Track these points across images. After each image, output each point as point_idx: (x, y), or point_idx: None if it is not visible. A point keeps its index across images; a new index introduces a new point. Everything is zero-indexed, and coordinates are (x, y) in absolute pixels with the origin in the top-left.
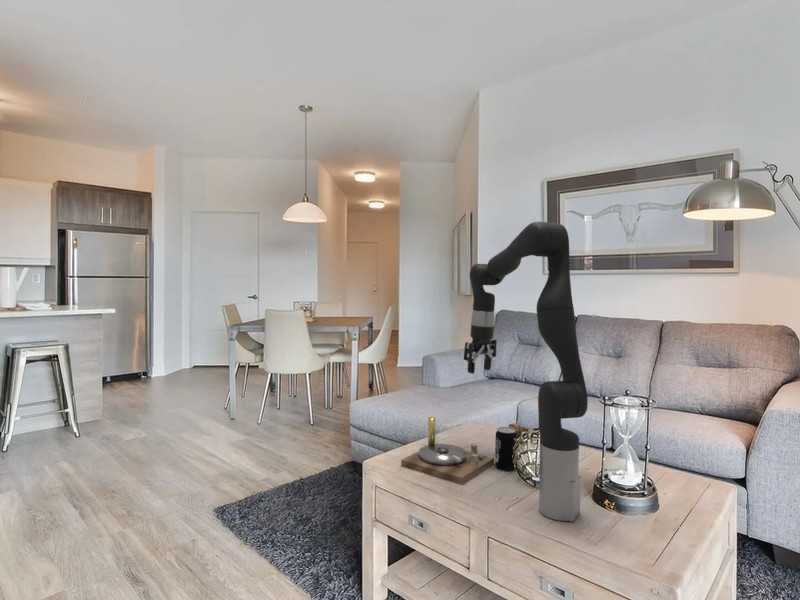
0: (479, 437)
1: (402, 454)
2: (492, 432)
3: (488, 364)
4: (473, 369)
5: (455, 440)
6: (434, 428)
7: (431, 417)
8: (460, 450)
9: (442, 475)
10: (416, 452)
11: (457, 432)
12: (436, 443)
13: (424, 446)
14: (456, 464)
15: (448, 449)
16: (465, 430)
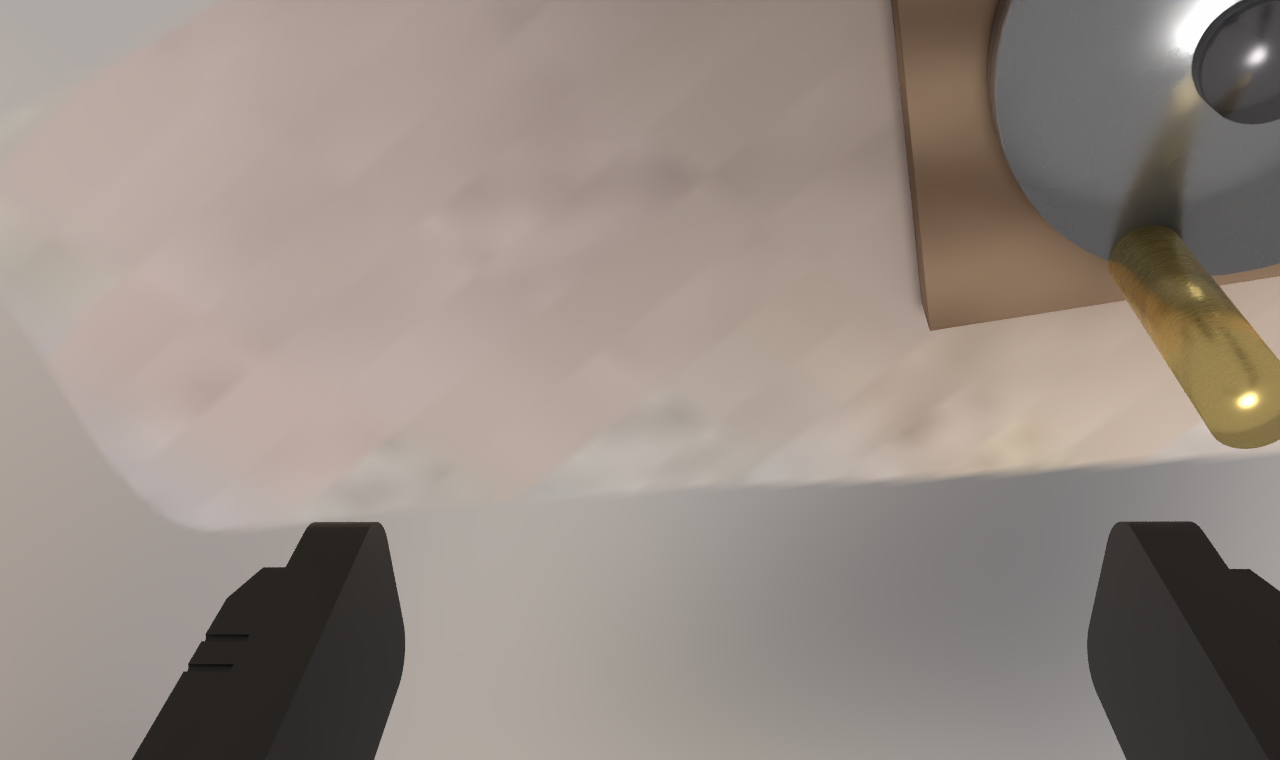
0: (376, 267)
1: None
2: (171, 282)
3: (329, 666)
4: (1239, 598)
5: (619, 341)
6: (1217, 314)
7: (1230, 432)
8: None
9: None
10: (1268, 277)
11: (455, 452)
12: (935, 324)
13: (1230, 268)
14: None
15: (1242, 14)
16: (358, 445)
